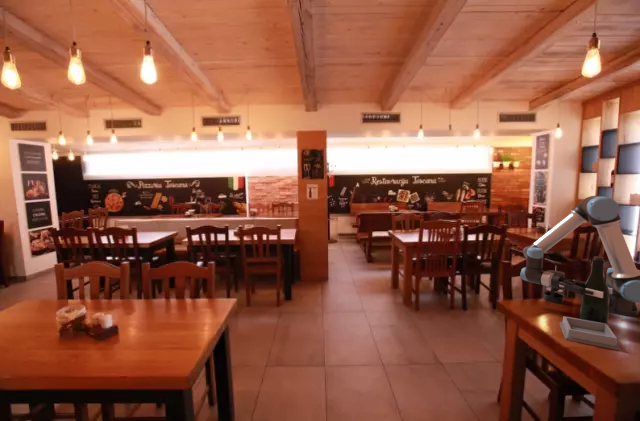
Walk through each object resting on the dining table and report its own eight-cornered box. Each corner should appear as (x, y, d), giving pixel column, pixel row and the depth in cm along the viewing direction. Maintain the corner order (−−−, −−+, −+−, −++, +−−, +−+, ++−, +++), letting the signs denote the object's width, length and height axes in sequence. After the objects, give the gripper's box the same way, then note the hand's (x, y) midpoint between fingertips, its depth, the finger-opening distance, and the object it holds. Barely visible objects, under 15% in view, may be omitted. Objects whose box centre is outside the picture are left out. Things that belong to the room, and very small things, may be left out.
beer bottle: (613, 327, 149) (619, 258, 147) (596, 329, 147) (601, 259, 145) (590, 318, 160) (595, 254, 157) (573, 319, 158) (578, 254, 155)
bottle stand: (608, 332, 146) (608, 323, 145) (620, 350, 130) (621, 340, 130) (559, 323, 155) (560, 315, 154) (565, 339, 139) (566, 329, 139)
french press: (540, 299, 186) (543, 261, 184) (544, 295, 193) (547, 259, 191) (565, 305, 178) (568, 265, 176) (568, 301, 184) (571, 262, 182)
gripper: (563, 284, 173) (616, 296, 154) (542, 291, 163) (596, 305, 143) (564, 270, 173) (617, 281, 153) (542, 276, 162) (597, 289, 142)
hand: (607, 293), depth 148 cm, fingers closed on beer bottle, 9 cm apart
